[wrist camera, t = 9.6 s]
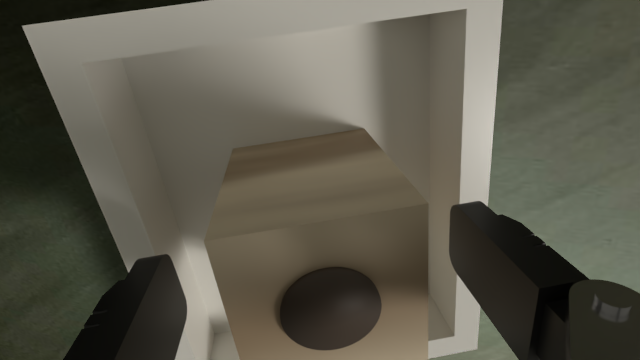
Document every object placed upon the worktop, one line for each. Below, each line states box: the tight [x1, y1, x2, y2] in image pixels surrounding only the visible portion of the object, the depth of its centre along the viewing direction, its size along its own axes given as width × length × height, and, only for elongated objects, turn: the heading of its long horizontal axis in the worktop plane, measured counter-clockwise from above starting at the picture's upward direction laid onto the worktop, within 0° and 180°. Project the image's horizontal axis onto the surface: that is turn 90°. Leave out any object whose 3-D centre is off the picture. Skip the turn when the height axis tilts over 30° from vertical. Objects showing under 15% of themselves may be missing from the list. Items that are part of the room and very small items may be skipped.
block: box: [204, 128, 429, 360], centre depth 11 cm, size 5×5×6 cm
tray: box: [22, 0, 503, 360], centre depth 13 cm, size 14×12×3 cm
